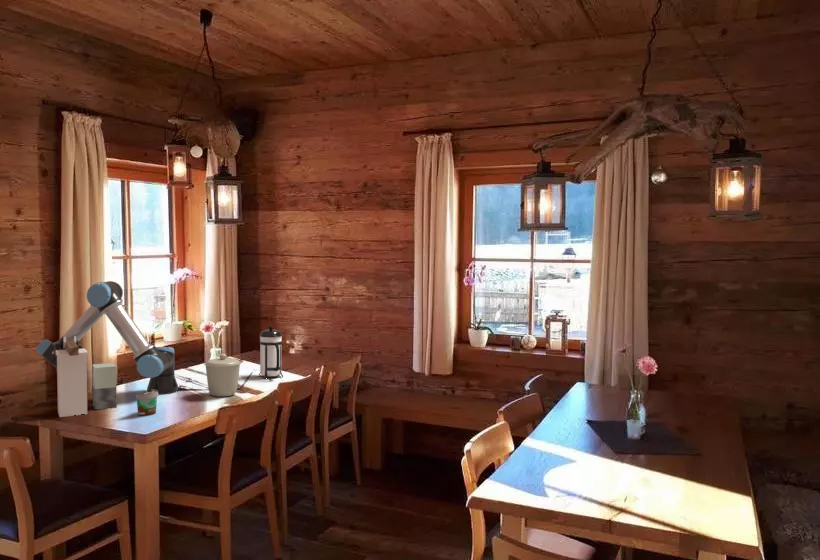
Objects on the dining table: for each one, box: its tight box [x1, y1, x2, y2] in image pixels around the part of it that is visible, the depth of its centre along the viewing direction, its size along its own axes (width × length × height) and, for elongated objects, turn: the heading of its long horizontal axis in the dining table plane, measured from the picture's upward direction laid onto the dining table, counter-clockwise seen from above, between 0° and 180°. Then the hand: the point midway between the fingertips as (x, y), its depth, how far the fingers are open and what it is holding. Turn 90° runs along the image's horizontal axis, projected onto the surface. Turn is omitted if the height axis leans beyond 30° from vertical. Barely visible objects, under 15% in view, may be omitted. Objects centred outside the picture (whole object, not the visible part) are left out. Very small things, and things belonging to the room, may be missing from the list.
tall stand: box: [56, 348, 89, 418], centre depth 299 cm, size 12×12×28 cm
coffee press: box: [258, 325, 284, 380], centre depth 383 cm, size 17×16×30 cm
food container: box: [135, 389, 160, 417], centre depth 300 cm, size 12×6×10 cm, turn 168°
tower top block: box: [91, 362, 117, 389], centre depth 311 cm, size 9×10×10 cm
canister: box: [204, 353, 242, 398], centre depth 338 cm, size 18×18×21 cm
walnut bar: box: [65, 339, 79, 356], centre depth 299 cm, size 4×28×4 cm, turn 32°
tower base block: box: [92, 385, 118, 410], centre depth 312 cm, size 9×10×10 cm
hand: (70, 339), depth 304 cm, fingers closed on walnut bar, 3 cm apart
